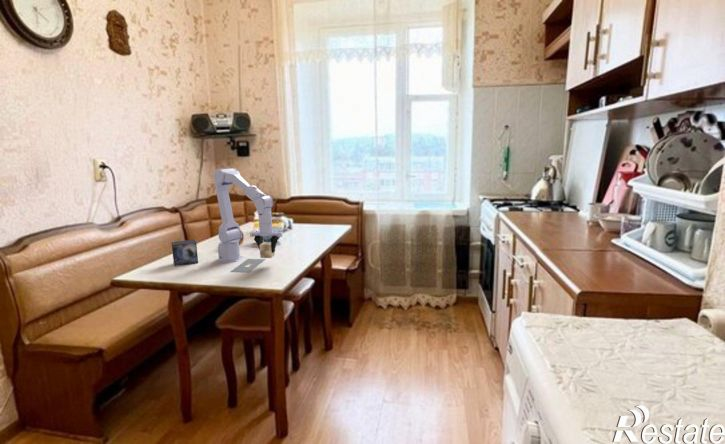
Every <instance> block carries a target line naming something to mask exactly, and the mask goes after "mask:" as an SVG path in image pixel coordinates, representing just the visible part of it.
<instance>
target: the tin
mask: <svg viewBox="0 0 725 444" xmlns="http://www.w3.org/2000/svg"><path fill="white" fill-rule="evenodd" d="M241 232H242V236H241V238H240V241H239V246H241V245H242V244H243V243H244V232H243V231H242V230H241Z"/></svg>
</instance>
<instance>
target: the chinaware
mask: <svg viewBox="0 0 725 444" xmlns="http://www.w3.org/2000/svg"><path fill="white" fill-rule="evenodd" d="M272 230H273V231H276V232H282V234H284V227H282V226H276V225H275V226H273V225H272ZM257 231H259V227H258V228H256V229H255V232H257ZM270 238H271V237H263V242H271V241H270ZM279 239H281V237H279V238H278V240H279Z"/></svg>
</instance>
